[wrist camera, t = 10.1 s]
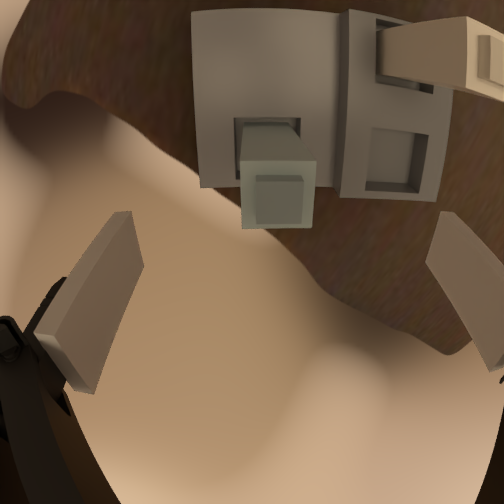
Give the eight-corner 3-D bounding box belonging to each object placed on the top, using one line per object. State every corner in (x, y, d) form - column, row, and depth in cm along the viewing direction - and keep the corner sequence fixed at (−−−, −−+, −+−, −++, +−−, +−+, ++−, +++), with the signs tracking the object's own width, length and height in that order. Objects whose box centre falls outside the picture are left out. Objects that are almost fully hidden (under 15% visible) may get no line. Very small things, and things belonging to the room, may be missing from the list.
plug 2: (373, 31, 19) (478, 15, 7) (413, 41, 19) (527, 43, 7) (372, 74, 21) (477, 90, 10) (412, 81, 21) (525, 109, 10)
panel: (196, 17, 21) (185, 6, 16) (424, 38, 21) (455, 37, 16) (204, 177, 30) (196, 199, 25) (411, 180, 30) (435, 201, 25)
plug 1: (243, 122, 26) (239, 166, 15) (287, 122, 26) (320, 166, 15) (244, 163, 29) (241, 237, 17) (286, 162, 29) (314, 236, 17)
